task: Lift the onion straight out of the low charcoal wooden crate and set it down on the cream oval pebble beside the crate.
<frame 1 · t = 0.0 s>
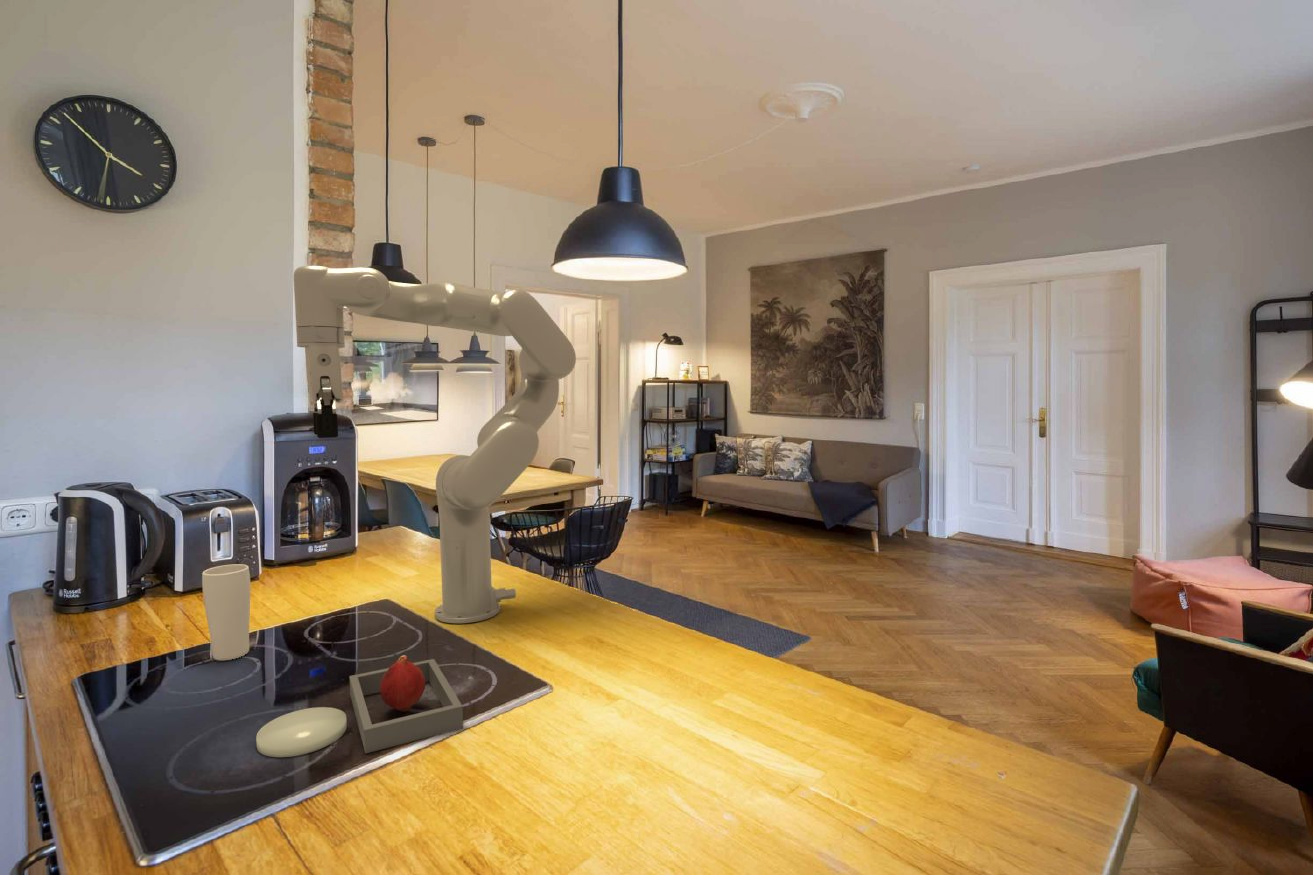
hand: (325, 435, 119), 37 cm above the counter, tool pointing down, fingers open, 9 cm apart
crate: (403, 710, 94), on the counter
drinking glass: (231, 656, 114), on the counter
cream oval pebble: (303, 735, 87), on the counter
onion: (404, 712, 94), resting in crate
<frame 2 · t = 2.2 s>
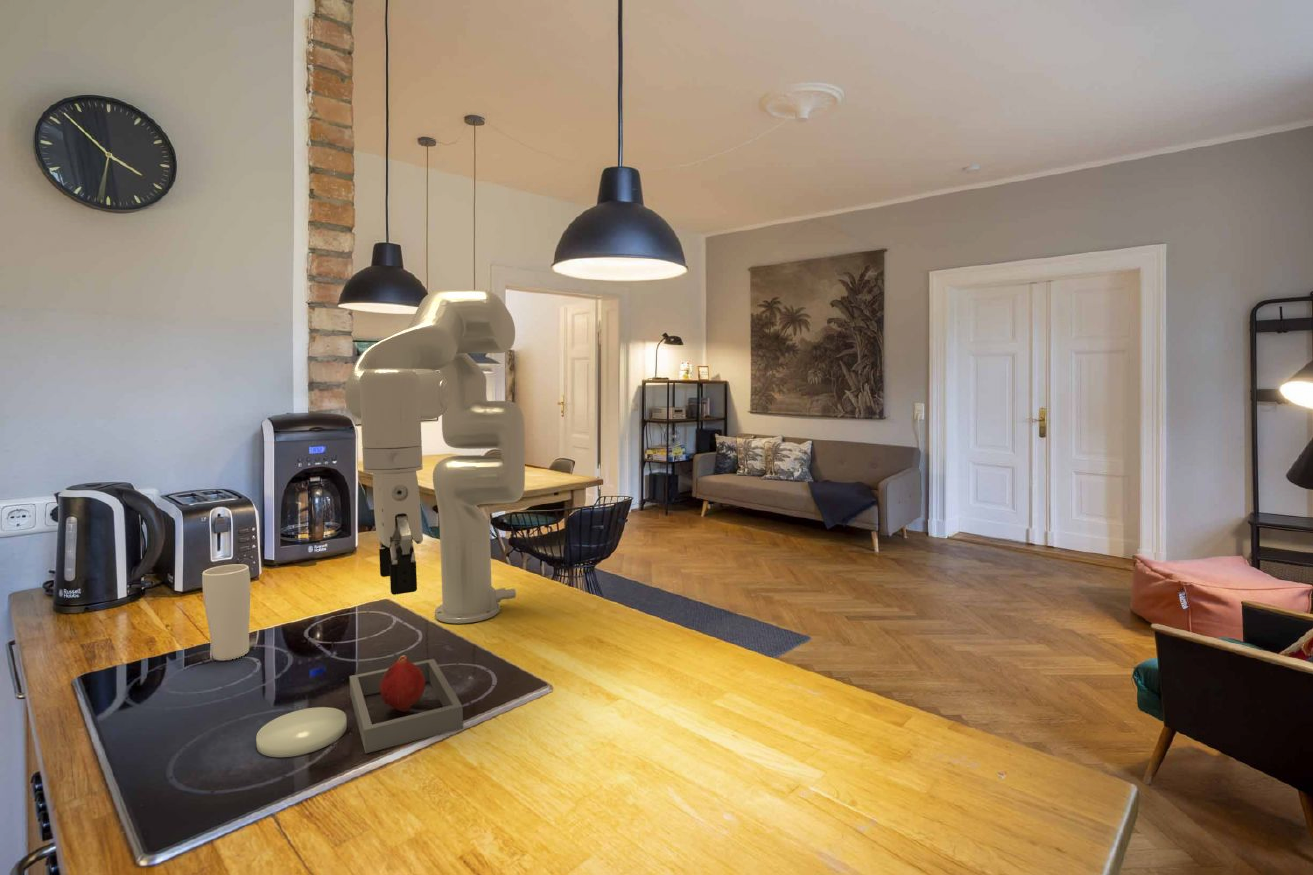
hand: (398, 583, 92), 18 cm above the counter, tool pointing down, fingers open, 9 cm apart
nothing on the counter moved.
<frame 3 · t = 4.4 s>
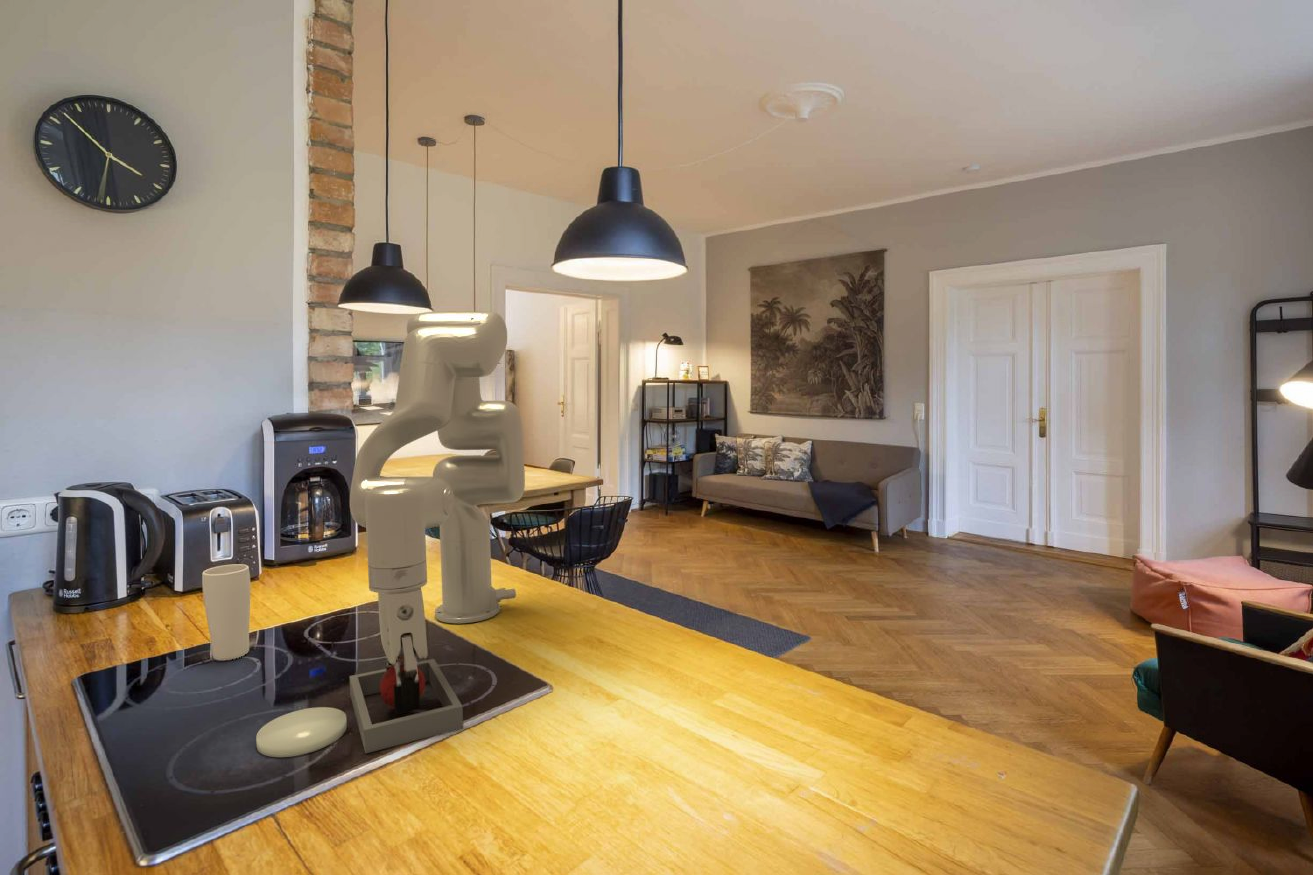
hand: (403, 700, 93), 2 cm above the counter, tool pointing down, fingers closed on onion, 5 cm apart
onion: (403, 712, 94), resting in crate, touching gripper
everything else where it was.
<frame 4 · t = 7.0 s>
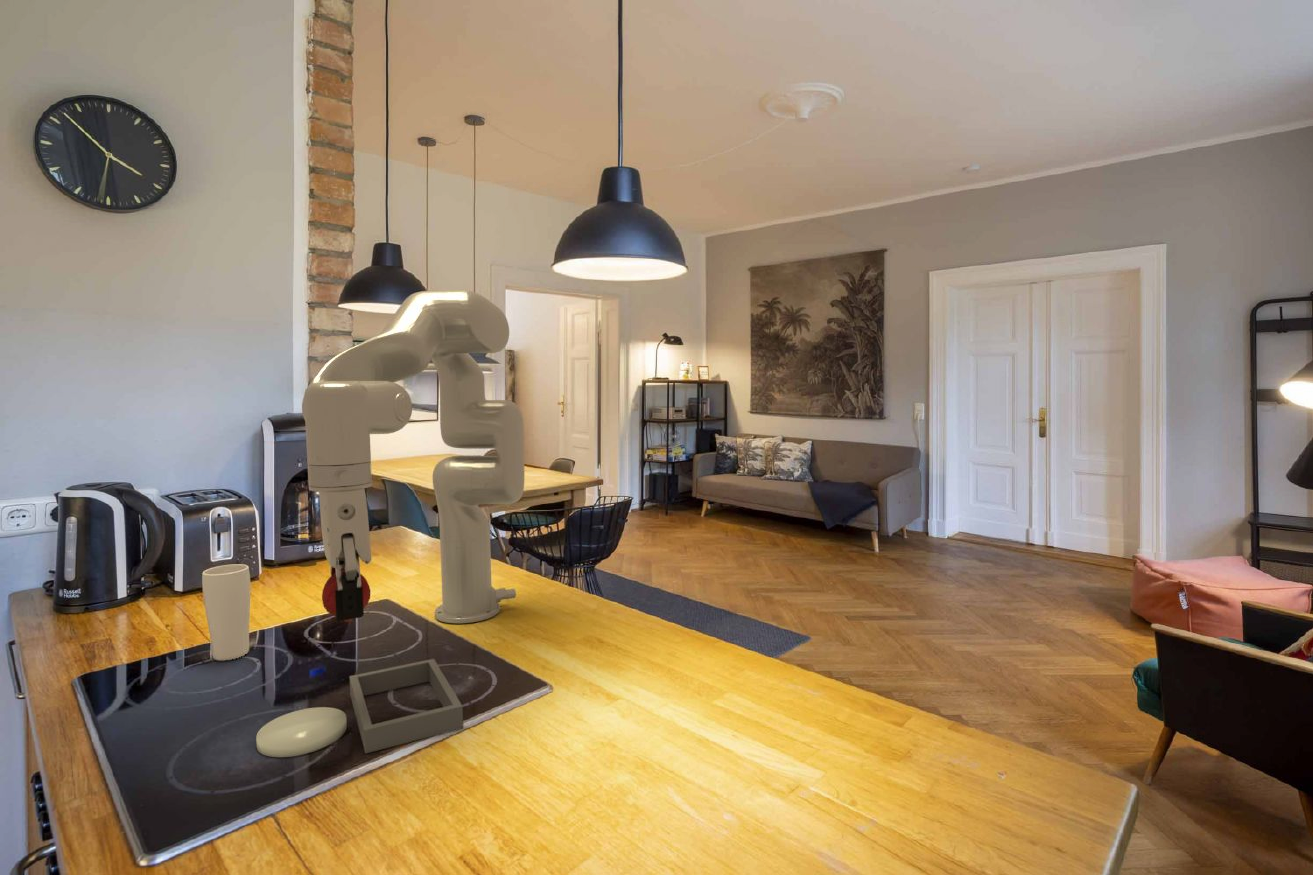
hand: (346, 609, 89), 16 cm above the counter, tool pointing down, fingers closed on onion, 5 cm apart
onion: (347, 622, 89), point 14 cm above the counter, touching gripper
everything else where it was.
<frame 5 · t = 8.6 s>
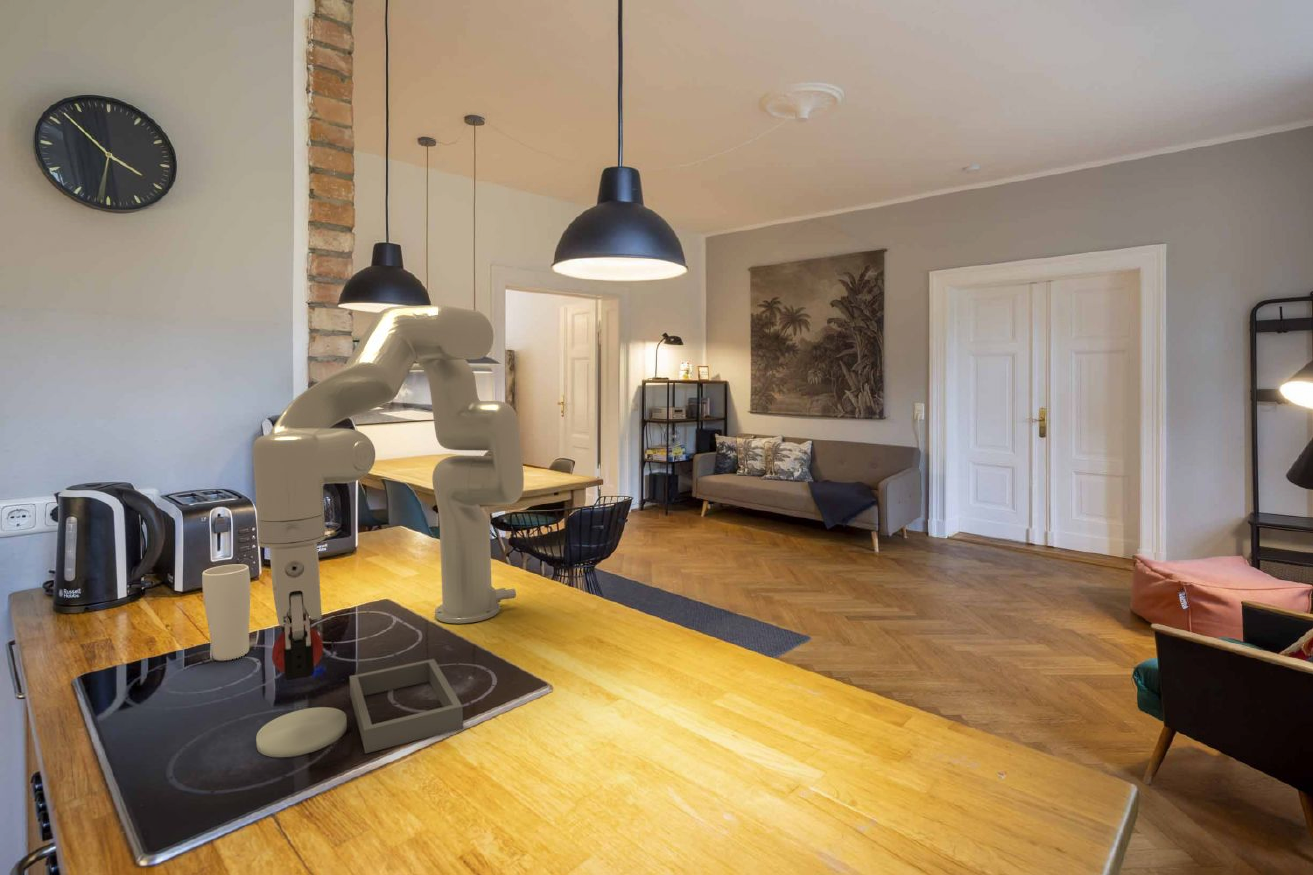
hand: (298, 666, 87), 9 cm above the counter, tool pointing down, fingers closed on onion, 5 cm apart
onion: (299, 679, 87), point 8 cm above the counter, touching gripper
everything else where it was.
when the fingers open (4 cm above the counter, at t = 10.0 s): onion drops 1 cm, resting on cream oval pebble.
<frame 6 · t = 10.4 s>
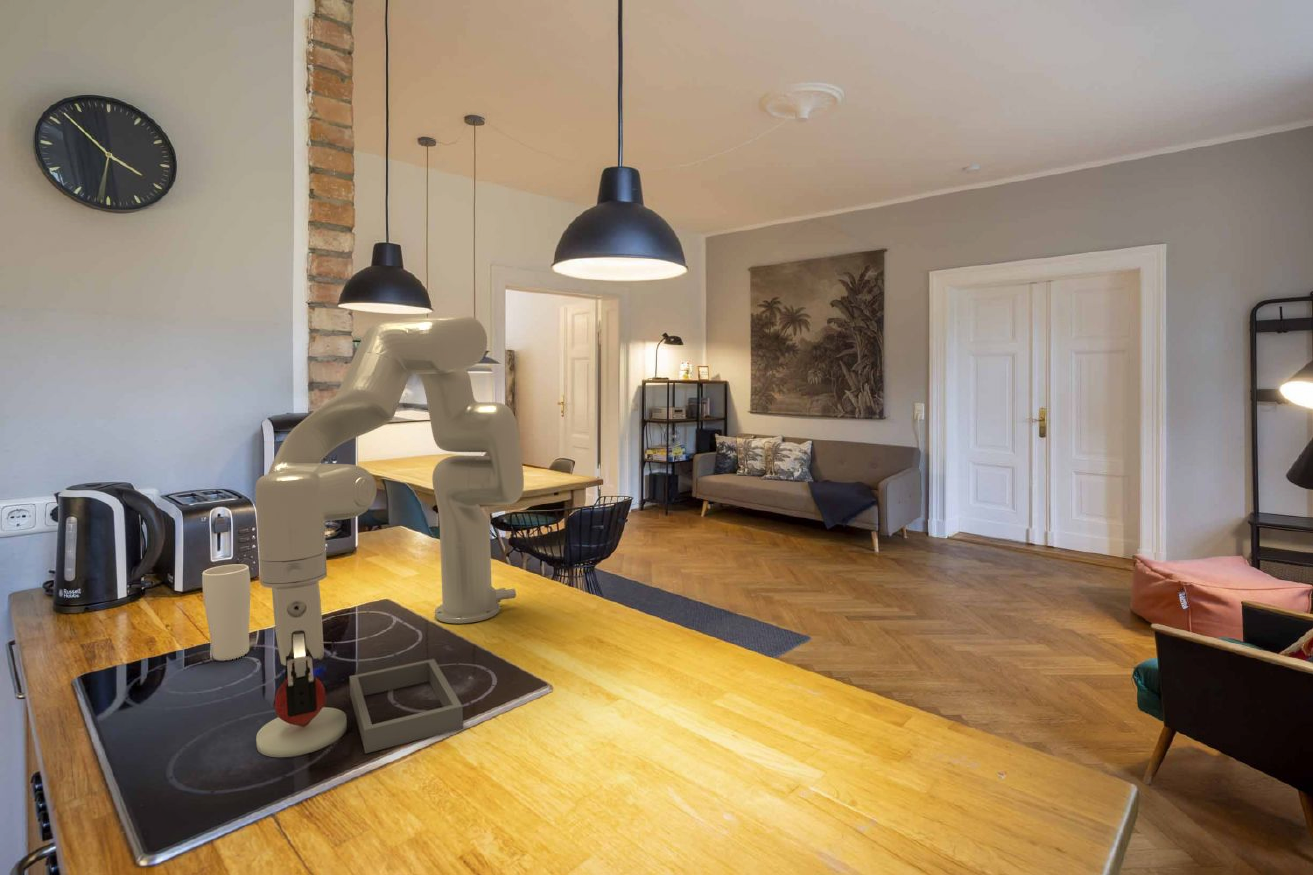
hand: (300, 697, 87), 5 cm above the counter, tool pointing down, fingers open, 9 cm apart
onion: (304, 727, 87), point 1 cm above the counter, touching cream oval pebble
everything else where it was.
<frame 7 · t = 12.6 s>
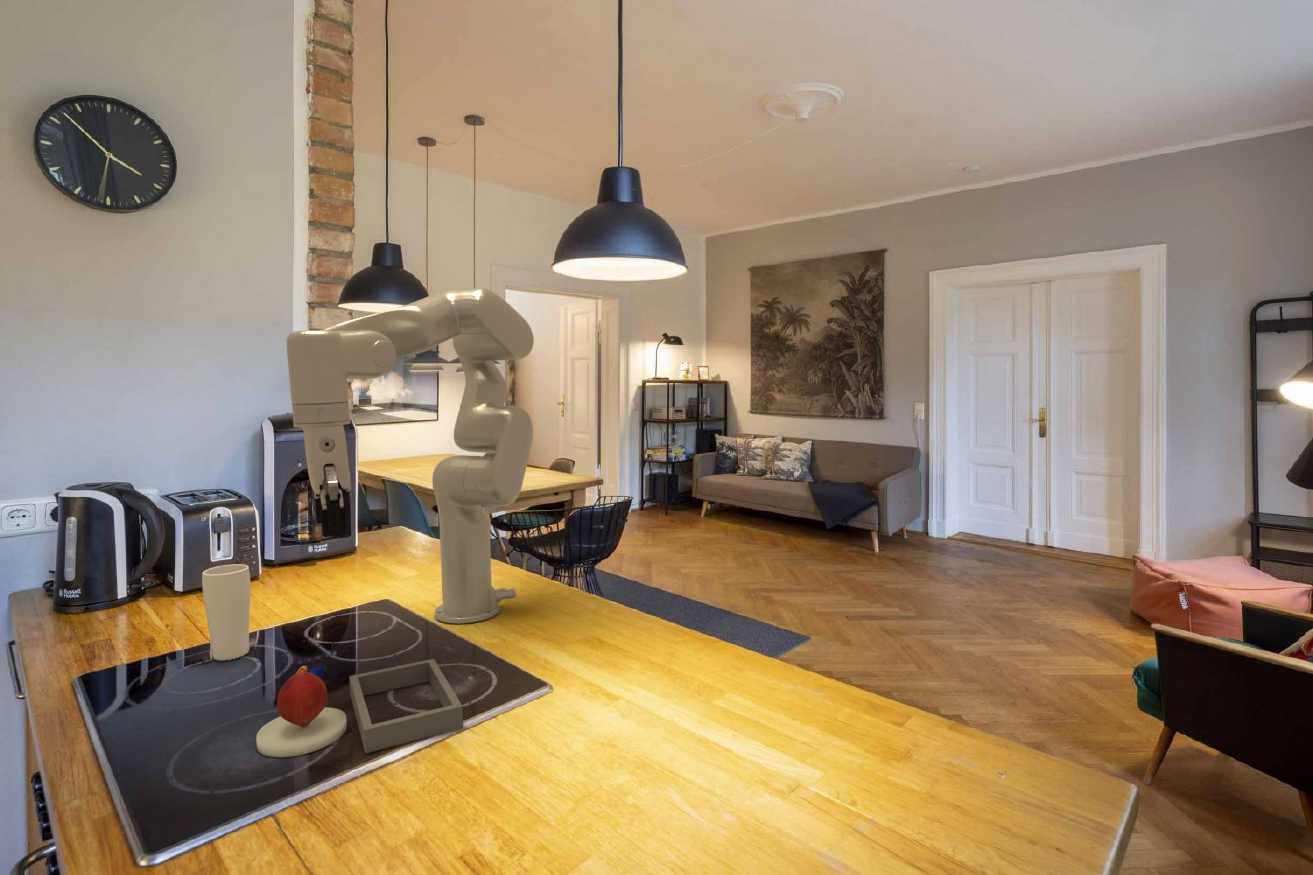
hand: (331, 528, 100), 24 cm above the counter, tool pointing down, fingers open, 9 cm apart
nothing on the counter moved.
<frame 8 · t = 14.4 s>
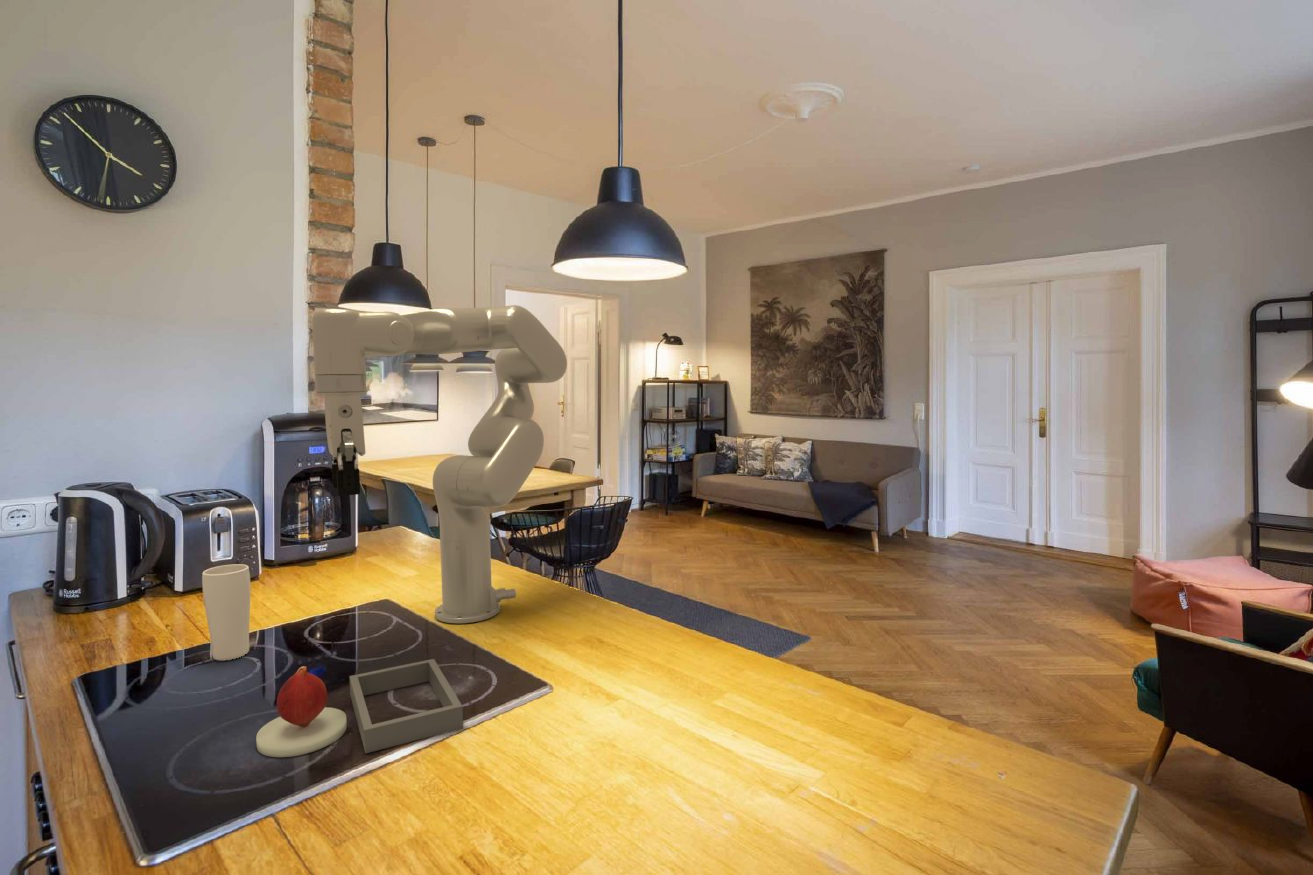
hand: (346, 490, 110), 28 cm above the counter, tool pointing down, fingers open, 9 cm apart
nothing on the counter moved.
at the end: onion 0.1 cm off-centre on the cream oval pebble, point 1.0 cm above the cream oval pebble's base; the gripper is holding nothing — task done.
